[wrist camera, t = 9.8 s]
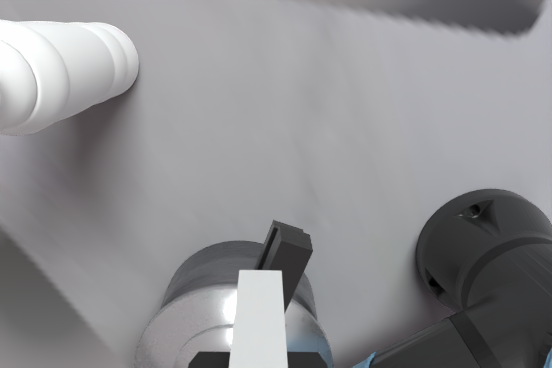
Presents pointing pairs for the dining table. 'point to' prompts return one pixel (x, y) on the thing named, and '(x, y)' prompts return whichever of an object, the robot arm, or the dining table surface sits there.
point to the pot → (232, 268)
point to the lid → (231, 314)
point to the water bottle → (59, 71)
